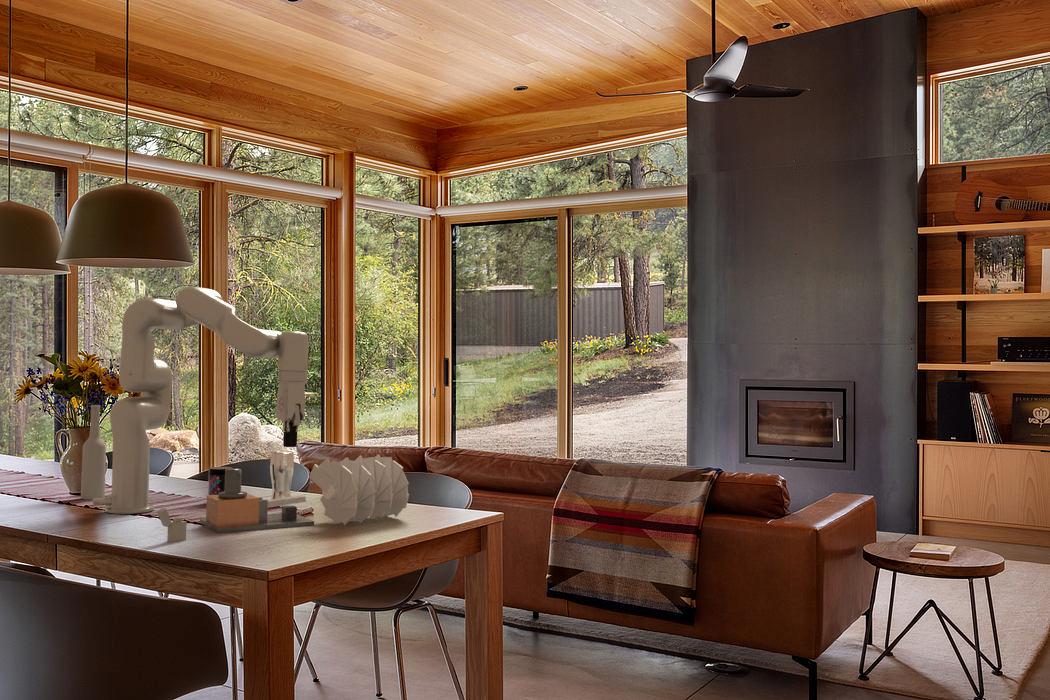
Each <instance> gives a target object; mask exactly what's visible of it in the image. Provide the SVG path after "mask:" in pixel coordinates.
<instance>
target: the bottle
mask: <svg viewBox="0 0 1050 700" xmlns="http://www.w3.org/2000/svg"><path fill="white" fill-rule="evenodd" d="M100 412H101V405H100V404H99V405H96V404H94V405H93V404H92V405H90V425H89V426H90V427H89V434H88V435H89V436H88V438H87V439H86V441H84V443H83V445H82V452H81V453H82V455H81V456H82V457H81V459H82V460H81V480H80V483H81V484H80V499H81V500H87V501H88V500H89V501H90V500H92V501H93V499H94V498H105V497H106V461H107V460H106V459H107V458H106V456H107V444H106V443H105V442H104V440H103V439H102V438H101V431H100V427H101V426H100V419H101V418H100V417H101V416H100V415H101V413H100Z"/></svg>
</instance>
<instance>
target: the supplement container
mask: <svg viewBox="0 0 1050 700" xmlns="http://www.w3.org/2000/svg"><path fill="white" fill-rule="evenodd" d="M225 469H233V467H231V466H210V467H208V486H207V487H208V491H207V495H218V493H219V492H225Z"/></svg>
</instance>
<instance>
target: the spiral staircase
mask: <svg viewBox="0 0 1050 700" xmlns="http://www.w3.org/2000/svg"><path fill="white" fill-rule="evenodd" d="M309 479H310V480H311V481H312V482H314V484H316V485H317V486H318V488H320V489H321V490H322V496H321V498H320V499H319V500H320V502H321V504H322V505H323V507H324V509H325V510H324V514H323V515H324V516H326V517H327V518H329V519H331V520H332V525H336V524H341V523H342V524H343V525H344V526H346V525H347V524H348V523H349V522H355V521H358V522H359V524H363V522H364V521H365V520H366V519H367V518H369V519H370V520H372V519H375V518H378V517H379V518H380V519H383V518H384V517H389V516H392V515H393V516H395V517H398V516H399V515H400V514H401V512H402V511H403V510H404V509H406V508H407V505H408V501H409V498H410V497H409V496H410V494H409V485H410V483H409V481H408V479H407V476H406V474H405V472H404V467H403V466H402V465H401V464H399V463H398V462H396V460H393V456H381V454H380V453H377V454H376V455H375V456H371V457H370V456H369V457H364V458H363V456H362V455H359V456H358V457H357V458H356V459H354V460H350V458H349V457H345V458H344V459H343V460H341V461H331V460H330V458H328V457H327V458H325V460H323V461H322V462H321V463H320V464H319V465H318V464H314V465H313V466H312V469H311V472H310V474H309Z"/></svg>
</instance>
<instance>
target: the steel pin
mask: <svg viewBox="0 0 1050 700" xmlns="http://www.w3.org/2000/svg"><path fill="white" fill-rule="evenodd" d="M242 470H243V469H241V468H232V469H225V492H219V493H218V497H219V498H224V499H237V498H245V497H247V493H248V492H247V491H243V490H242Z"/></svg>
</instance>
